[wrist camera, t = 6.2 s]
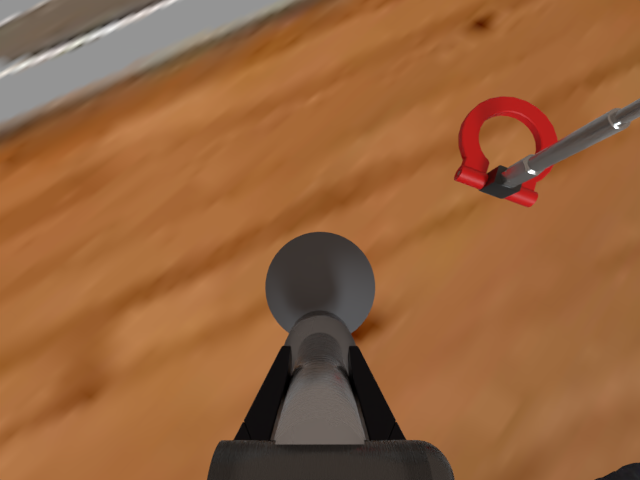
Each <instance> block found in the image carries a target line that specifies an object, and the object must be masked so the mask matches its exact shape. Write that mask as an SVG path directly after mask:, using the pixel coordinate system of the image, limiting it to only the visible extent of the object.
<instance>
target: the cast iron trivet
mask: <svg viewBox="0 0 640 480" xmlns="http://www.w3.org/2000/svg"><path fill="white" fill-rule="evenodd" d="M595 480H640V463H631V464H628V465H625V466H622V467H621V468H619V469H618V470H617V471H613V472H611V473H610V474H608V475H606V476H604V477H602V478H597V479H595Z"/></svg>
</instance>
